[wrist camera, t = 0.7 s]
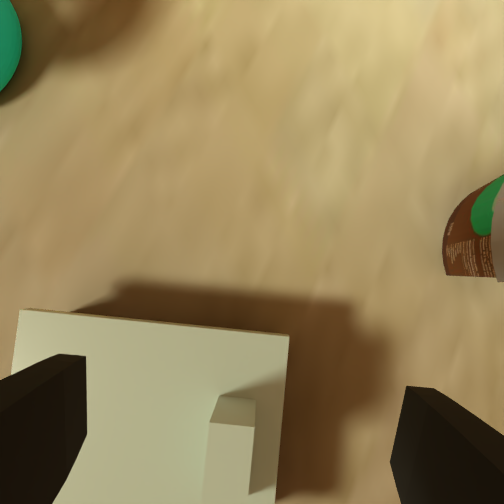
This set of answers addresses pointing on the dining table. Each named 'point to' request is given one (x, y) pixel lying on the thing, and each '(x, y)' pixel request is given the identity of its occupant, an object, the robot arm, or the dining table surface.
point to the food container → (477, 234)
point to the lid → (167, 407)
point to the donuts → (9, 42)
